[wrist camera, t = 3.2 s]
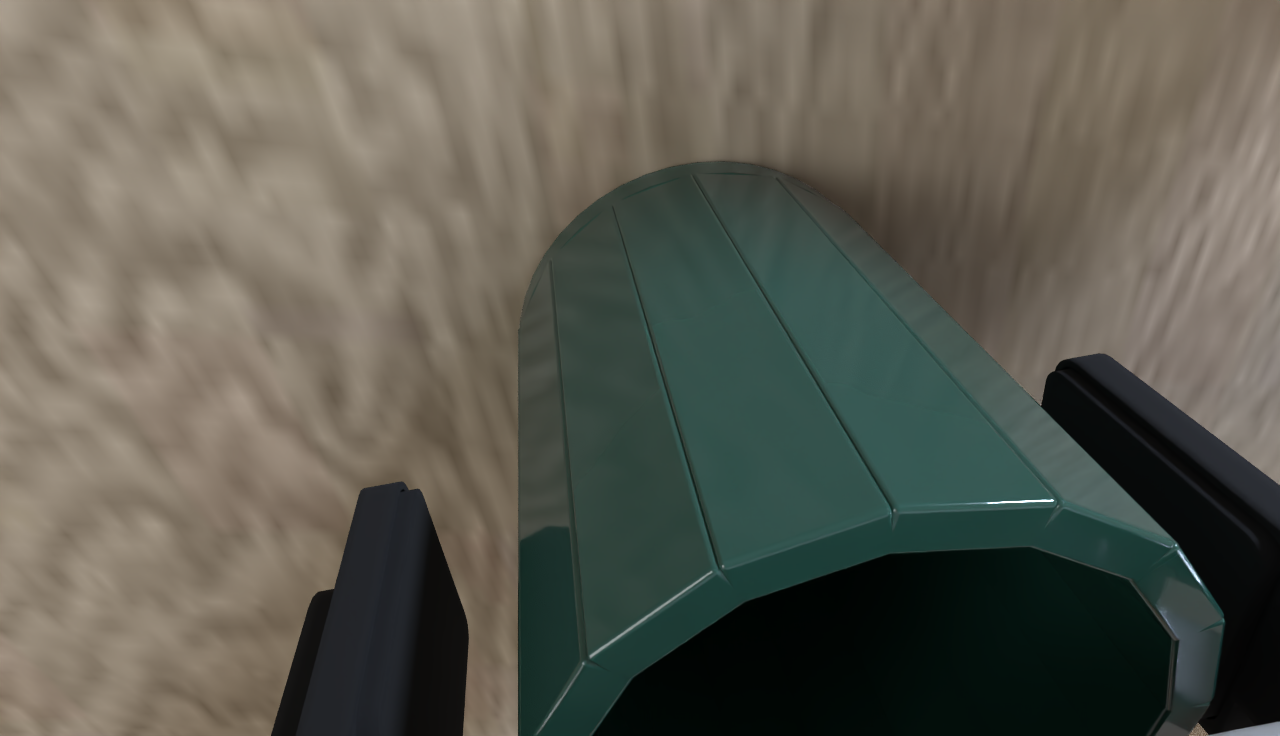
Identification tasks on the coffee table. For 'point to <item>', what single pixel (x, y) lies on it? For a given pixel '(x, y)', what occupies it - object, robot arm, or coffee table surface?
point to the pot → (813, 498)
